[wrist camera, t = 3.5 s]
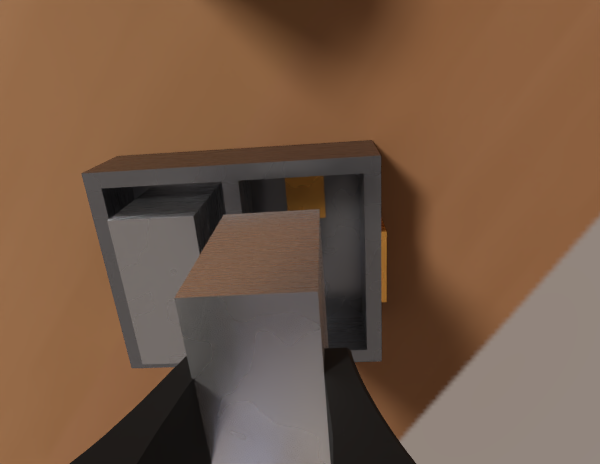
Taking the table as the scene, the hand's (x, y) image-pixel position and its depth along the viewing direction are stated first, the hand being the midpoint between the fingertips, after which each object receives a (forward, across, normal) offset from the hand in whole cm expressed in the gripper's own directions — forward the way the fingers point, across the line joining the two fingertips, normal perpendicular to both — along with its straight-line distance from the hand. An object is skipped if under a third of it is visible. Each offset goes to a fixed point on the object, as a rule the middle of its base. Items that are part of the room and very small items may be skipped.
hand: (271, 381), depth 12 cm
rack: (+9, +2, 0) cm, 9 cm away
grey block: (+4, 0, 0) cm, 4 cm away
